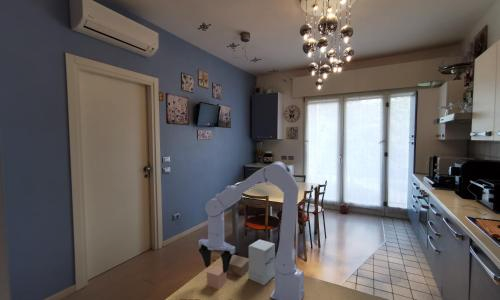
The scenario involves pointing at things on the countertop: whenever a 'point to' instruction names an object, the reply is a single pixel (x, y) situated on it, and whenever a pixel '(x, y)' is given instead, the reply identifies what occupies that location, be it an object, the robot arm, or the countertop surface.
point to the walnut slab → (238, 265)
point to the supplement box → (261, 261)
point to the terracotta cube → (216, 277)
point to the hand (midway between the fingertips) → (216, 268)
